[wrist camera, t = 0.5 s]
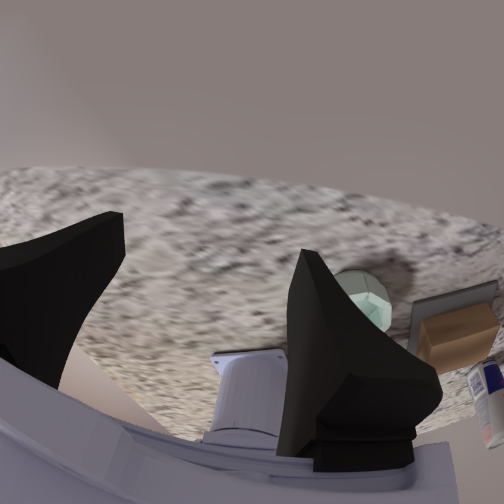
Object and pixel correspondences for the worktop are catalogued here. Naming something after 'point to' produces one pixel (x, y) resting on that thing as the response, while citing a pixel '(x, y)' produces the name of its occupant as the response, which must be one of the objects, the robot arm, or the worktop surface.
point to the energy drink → (488, 400)
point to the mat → (447, 307)
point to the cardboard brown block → (457, 338)
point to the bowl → (367, 296)
